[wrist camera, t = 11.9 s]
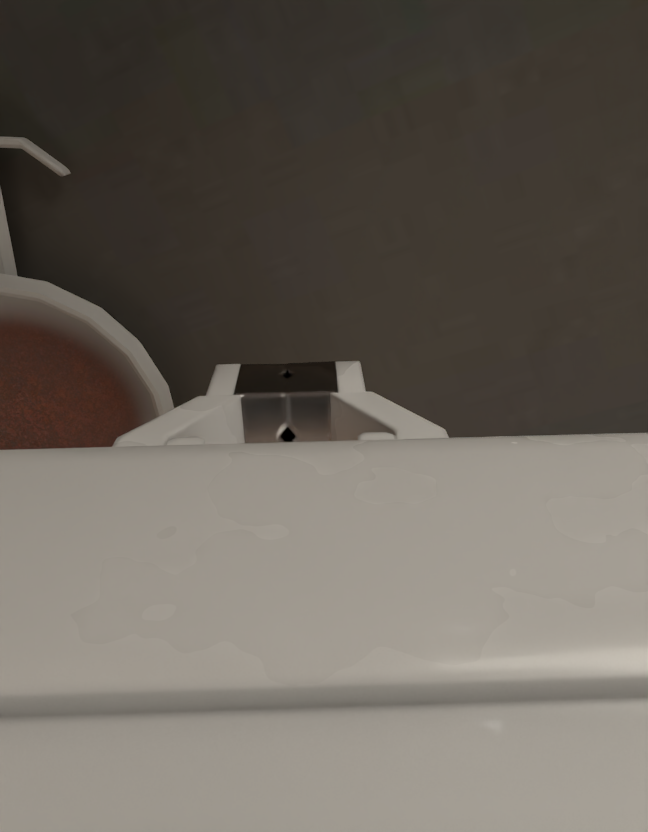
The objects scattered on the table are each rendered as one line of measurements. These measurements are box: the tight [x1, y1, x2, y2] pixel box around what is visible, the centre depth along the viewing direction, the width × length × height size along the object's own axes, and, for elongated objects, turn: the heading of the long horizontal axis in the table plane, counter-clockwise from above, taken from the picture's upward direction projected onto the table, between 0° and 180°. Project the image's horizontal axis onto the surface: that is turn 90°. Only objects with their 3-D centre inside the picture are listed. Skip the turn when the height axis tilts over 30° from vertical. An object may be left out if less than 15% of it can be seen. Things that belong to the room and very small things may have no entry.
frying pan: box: [0, 137, 174, 450], centre depth 32 cm, size 17×3×28 cm
